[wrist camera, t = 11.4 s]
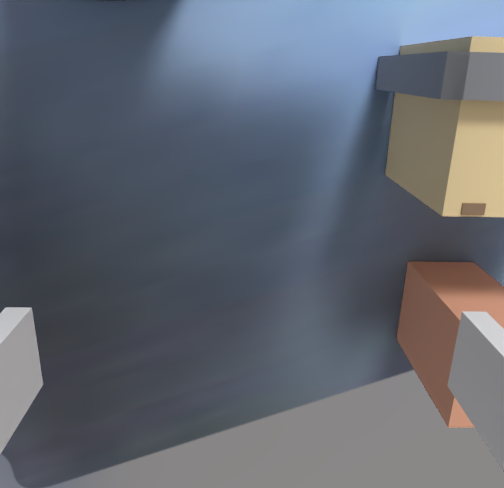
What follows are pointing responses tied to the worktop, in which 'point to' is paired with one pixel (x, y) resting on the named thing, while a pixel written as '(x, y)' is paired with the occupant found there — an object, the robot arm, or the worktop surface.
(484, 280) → the stub
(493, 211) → the block
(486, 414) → the robot arm
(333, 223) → the worktop surface
